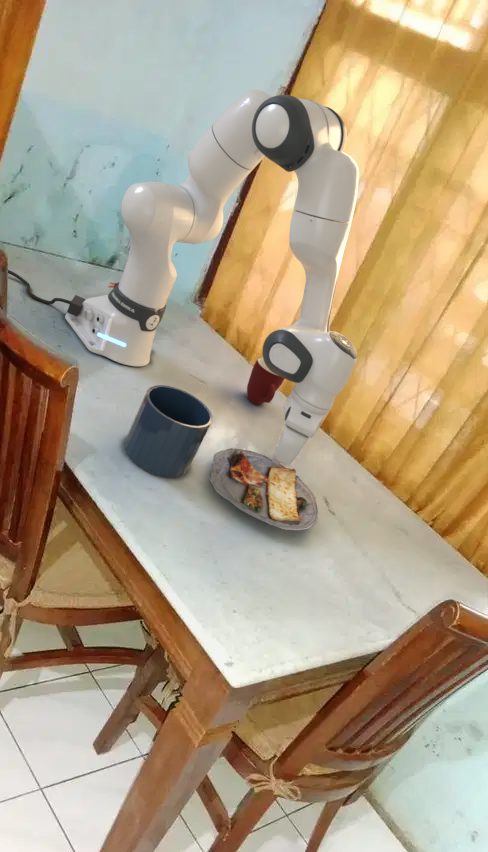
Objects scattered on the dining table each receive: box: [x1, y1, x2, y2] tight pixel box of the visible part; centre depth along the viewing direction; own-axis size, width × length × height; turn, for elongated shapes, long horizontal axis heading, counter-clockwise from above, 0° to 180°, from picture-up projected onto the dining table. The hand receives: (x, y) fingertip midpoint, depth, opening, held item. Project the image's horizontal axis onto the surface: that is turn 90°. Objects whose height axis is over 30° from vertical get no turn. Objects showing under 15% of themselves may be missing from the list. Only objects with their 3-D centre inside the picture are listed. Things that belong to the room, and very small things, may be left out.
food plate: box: [209, 447, 319, 531], centre depth 145 cm, size 25×23×4 cm
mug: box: [246, 356, 285, 406], centre depth 177 cm, size 10×8×10 cm
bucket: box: [123, 384, 214, 479], centre depth 137 cm, size 13×13×12 cm
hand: (276, 460), depth 154 cm, fingers closed
